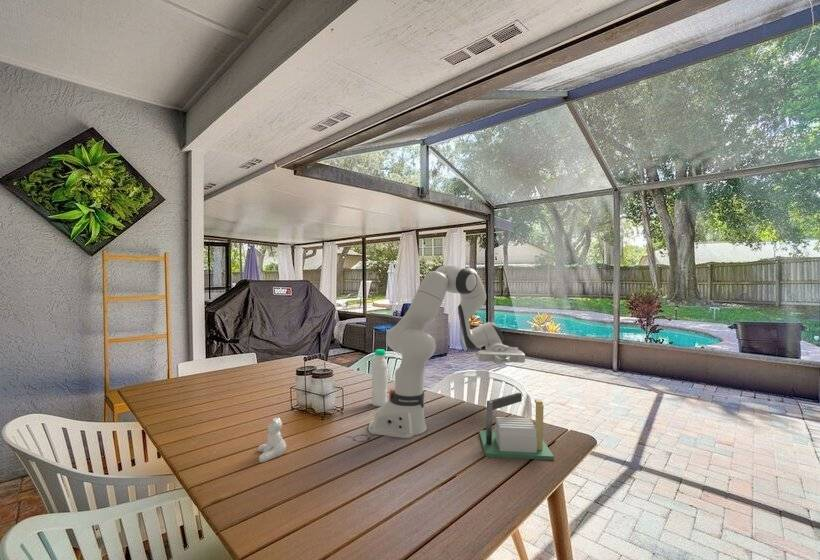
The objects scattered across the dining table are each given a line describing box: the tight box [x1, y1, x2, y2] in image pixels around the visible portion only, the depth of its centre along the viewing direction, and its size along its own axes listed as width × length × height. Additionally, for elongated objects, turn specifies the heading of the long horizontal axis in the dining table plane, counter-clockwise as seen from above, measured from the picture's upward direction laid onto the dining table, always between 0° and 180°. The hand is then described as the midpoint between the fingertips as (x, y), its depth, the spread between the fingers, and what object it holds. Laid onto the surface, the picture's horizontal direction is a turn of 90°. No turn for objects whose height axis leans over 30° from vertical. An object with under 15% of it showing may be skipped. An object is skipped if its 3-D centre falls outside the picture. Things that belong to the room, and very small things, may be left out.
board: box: [478, 398, 555, 461], centre depth 131 cm, size 22×18×17 cm
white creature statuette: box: [257, 417, 287, 463], centre depth 122 cm, size 10×9×12 cm
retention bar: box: [485, 392, 523, 444], centre depth 134 cm, size 18×2×14 cm, turn 126°
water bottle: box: [371, 348, 389, 407], centre depth 170 cm, size 7×7×25 cm
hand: (504, 360), depth 157 cm, fingers closed
